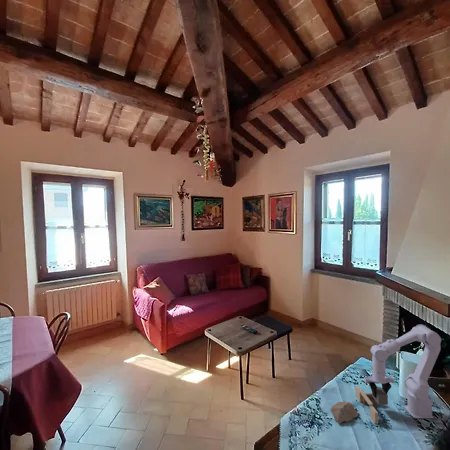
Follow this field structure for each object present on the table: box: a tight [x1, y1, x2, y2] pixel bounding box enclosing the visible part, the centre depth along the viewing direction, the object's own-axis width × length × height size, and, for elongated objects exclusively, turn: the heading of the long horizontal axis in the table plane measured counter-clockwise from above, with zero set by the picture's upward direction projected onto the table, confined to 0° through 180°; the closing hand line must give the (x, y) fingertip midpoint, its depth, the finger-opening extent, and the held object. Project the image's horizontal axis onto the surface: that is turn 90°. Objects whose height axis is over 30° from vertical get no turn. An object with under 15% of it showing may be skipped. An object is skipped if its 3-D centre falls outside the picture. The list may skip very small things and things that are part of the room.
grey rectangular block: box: [371, 386, 389, 406], centre depth 127 cm, size 4×6×5 cm
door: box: [361, 393, 379, 405], centre depth 131 cm, size 2×8×5 cm, turn 88°
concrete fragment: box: [329, 401, 359, 425], centre depth 124 cm, size 7×14×6 cm, turn 108°
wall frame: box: [354, 385, 379, 425], centre depth 128 cm, size 2×19×6 cm, turn 178°
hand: (379, 396), depth 127 cm, fingers closed on grey rectangular block, 4 cm apart
